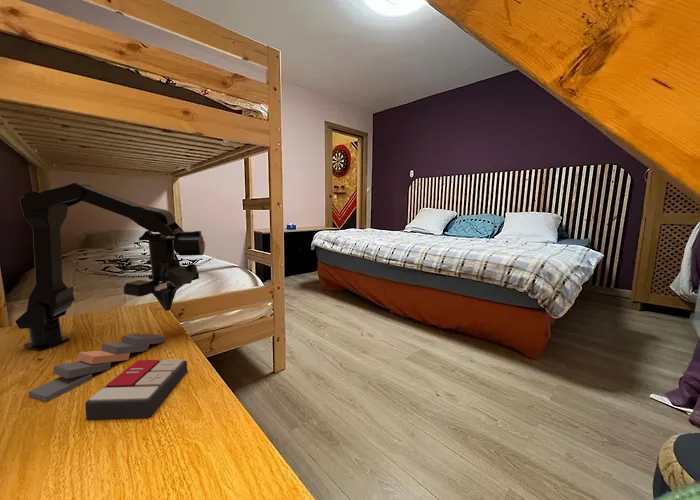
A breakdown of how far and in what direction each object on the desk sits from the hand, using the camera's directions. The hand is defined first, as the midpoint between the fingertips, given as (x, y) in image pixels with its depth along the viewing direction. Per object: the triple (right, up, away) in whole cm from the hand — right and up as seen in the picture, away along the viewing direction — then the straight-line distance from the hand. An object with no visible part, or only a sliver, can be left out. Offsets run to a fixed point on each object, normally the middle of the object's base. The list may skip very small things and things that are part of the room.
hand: (167, 310), depth 83 cm
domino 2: (-6, -9, -15) cm, 18 cm away
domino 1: (-7, -11, -19) cm, 22 cm away
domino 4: (-3, -8, -6) cm, 11 cm away
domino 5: (-1, -7, -2) cm, 8 cm away
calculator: (+9, -13, -23) cm, 28 cm away
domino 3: (-5, -9, -11) cm, 14 cm away
